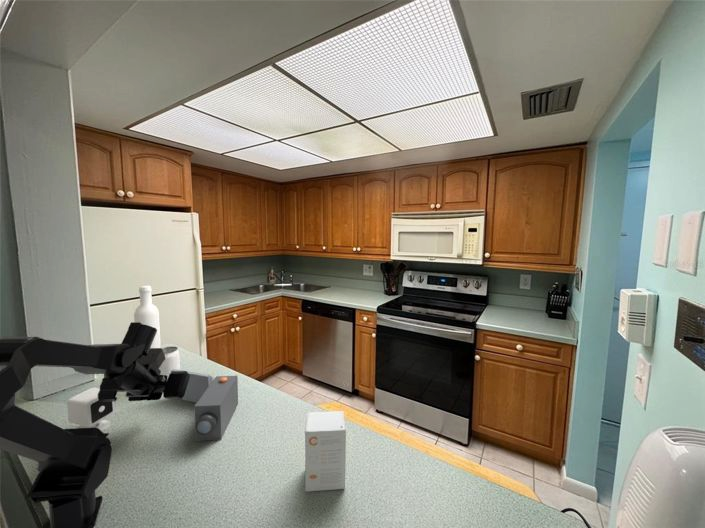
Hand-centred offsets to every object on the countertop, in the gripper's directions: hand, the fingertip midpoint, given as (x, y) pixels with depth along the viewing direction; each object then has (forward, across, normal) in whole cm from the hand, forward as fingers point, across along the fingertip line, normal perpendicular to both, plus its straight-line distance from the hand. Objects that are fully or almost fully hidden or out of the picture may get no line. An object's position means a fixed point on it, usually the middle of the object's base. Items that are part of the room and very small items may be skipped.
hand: (159, 395), depth 76 cm
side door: (+11, -4, -2) cm, 12 cm away
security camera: (+3, +14, +7) cm, 16 cm away
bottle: (+30, +23, -21) cm, 43 cm away
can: (+18, +7, -9) cm, 21 cm away
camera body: (+3, -15, +7) cm, 17 cm away
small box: (-10, -44, +21) cm, 50 cm away
